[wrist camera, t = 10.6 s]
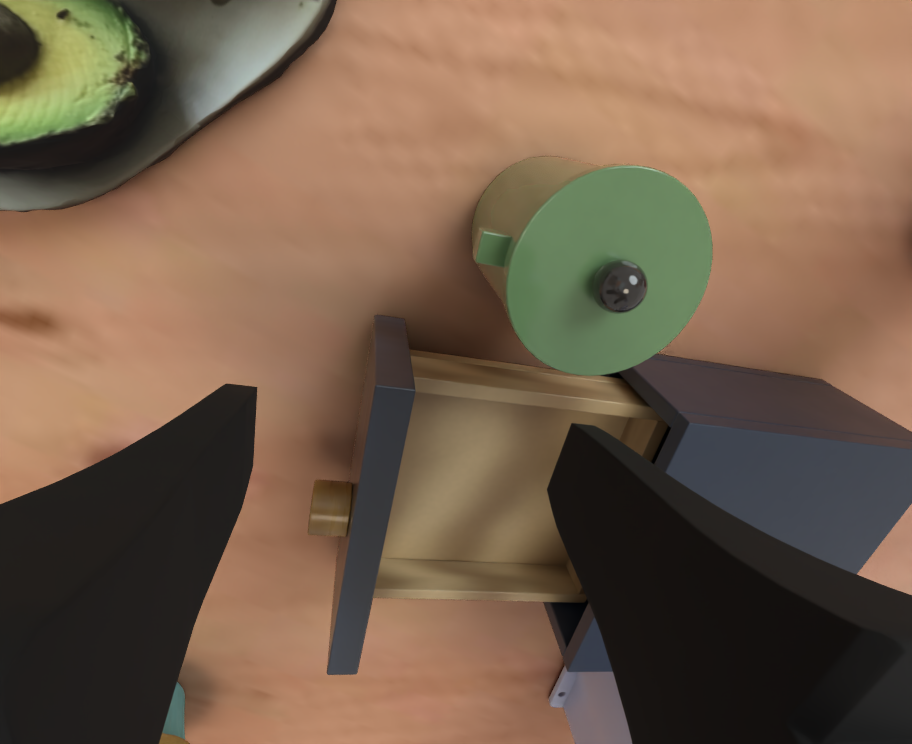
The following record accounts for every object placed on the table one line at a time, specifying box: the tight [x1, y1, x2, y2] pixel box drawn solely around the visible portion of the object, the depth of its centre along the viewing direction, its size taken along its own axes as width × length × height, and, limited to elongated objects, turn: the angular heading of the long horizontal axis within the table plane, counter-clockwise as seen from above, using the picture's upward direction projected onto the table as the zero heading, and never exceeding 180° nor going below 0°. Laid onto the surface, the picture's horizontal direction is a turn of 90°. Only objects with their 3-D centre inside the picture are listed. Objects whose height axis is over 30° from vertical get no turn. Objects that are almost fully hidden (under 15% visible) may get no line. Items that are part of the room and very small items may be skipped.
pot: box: [471, 156, 712, 376], centre depth 16 cm, size 6×7×8 cm
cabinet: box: [543, 354, 912, 672], centre depth 23 cm, size 12×13×6 cm
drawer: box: [308, 315, 669, 675], centre depth 21 cm, size 14×13×6 cm
